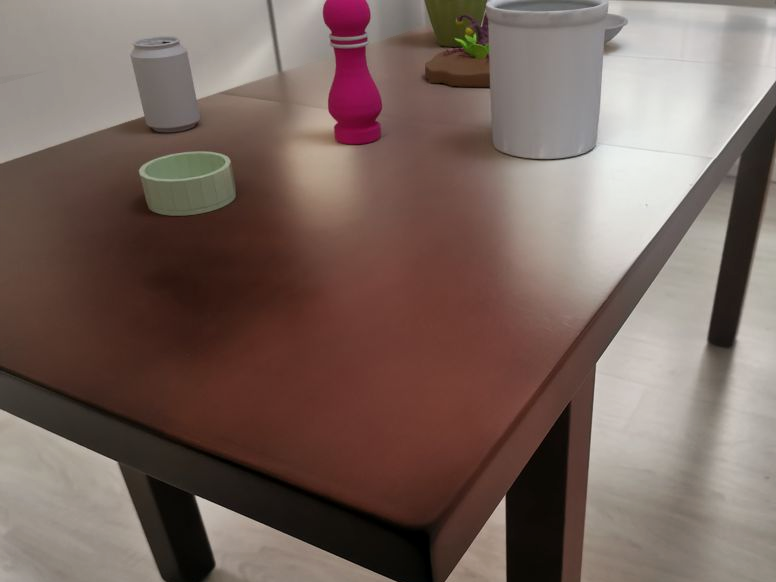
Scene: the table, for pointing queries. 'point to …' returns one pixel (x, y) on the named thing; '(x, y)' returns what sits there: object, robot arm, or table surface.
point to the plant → (464, 59)
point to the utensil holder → (545, 75)
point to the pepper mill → (352, 73)
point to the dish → (613, 26)
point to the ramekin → (188, 183)
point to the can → (165, 83)
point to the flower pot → (453, 19)
